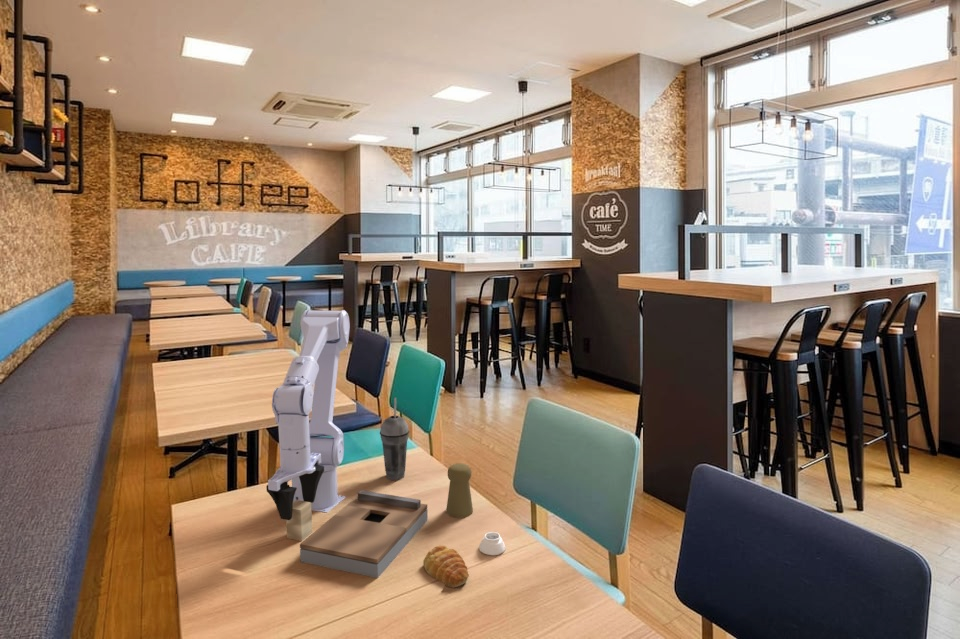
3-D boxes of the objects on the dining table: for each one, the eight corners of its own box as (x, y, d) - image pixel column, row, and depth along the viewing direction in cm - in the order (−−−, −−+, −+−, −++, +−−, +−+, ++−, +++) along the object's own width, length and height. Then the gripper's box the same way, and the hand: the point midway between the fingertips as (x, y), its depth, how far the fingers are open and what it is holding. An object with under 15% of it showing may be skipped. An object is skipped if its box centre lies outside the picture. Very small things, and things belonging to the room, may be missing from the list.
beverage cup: (376, 481, 146) (374, 402, 143) (386, 469, 153) (384, 394, 150) (405, 483, 145) (403, 404, 142) (413, 471, 152) (412, 395, 149)
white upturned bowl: (474, 548, 116) (489, 560, 112) (474, 534, 116) (489, 545, 112) (494, 540, 119) (510, 551, 115) (494, 526, 119) (510, 537, 115)
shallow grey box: (300, 564, 110) (300, 549, 110) (360, 510, 131) (360, 497, 130) (377, 580, 105) (377, 564, 105) (427, 522, 126) (427, 509, 125)
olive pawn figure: (474, 507, 133) (474, 460, 131) (471, 520, 127) (471, 471, 125) (448, 506, 133) (447, 459, 131) (443, 519, 127) (443, 470, 125)
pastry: (478, 581, 105) (478, 562, 105) (446, 595, 101) (445, 574, 101) (450, 557, 113) (449, 539, 112) (419, 569, 109) (418, 550, 108)
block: (287, 540, 118) (285, 507, 117) (297, 531, 122) (296, 499, 121) (302, 543, 117) (300, 510, 116) (312, 534, 121) (311, 502, 120)
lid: (300, 548, 110) (299, 536, 109) (360, 497, 130) (360, 487, 130) (377, 563, 105) (377, 551, 104) (427, 508, 125) (427, 497, 125)
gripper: (289, 461, 108) (292, 530, 111) (332, 435, 122) (335, 497, 124) (257, 456, 111) (261, 524, 113) (303, 431, 124) (306, 492, 126)
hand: (297, 509), depth 119 cm, fingers open, 7 cm apart
